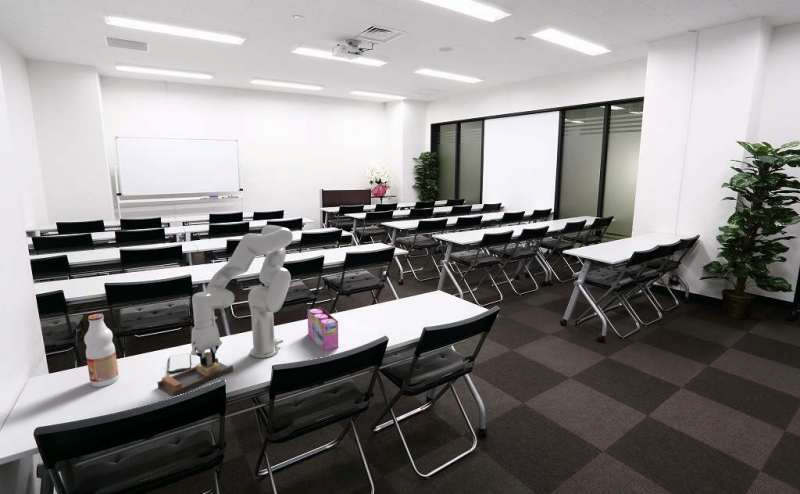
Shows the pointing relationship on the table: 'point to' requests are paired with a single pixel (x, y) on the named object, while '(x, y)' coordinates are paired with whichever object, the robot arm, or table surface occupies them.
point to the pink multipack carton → (323, 328)
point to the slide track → (190, 380)
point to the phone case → (179, 363)
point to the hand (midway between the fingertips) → (208, 363)
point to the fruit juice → (100, 353)
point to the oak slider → (208, 366)
